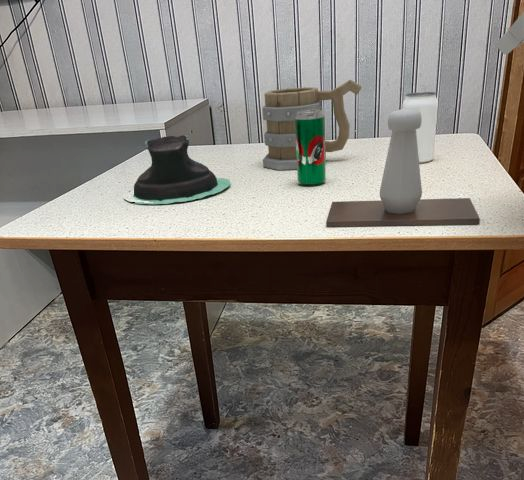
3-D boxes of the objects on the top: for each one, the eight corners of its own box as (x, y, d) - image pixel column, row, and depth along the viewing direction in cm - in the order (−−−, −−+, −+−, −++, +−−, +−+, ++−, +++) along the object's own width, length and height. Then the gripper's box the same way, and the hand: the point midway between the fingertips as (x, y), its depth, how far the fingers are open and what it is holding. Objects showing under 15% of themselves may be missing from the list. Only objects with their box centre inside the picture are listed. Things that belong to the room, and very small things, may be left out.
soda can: (329, 180, 98) (328, 108, 92) (320, 187, 94) (318, 112, 88) (303, 179, 100) (300, 109, 94) (293, 186, 96) (289, 113, 90)
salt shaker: (370, 211, 76) (372, 112, 70) (395, 201, 79) (400, 106, 73) (404, 218, 72) (409, 114, 66) (429, 208, 75) (437, 107, 69)
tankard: (260, 171, 109) (253, 89, 101) (270, 158, 120) (265, 84, 112) (359, 167, 105) (360, 81, 97) (361, 154, 116) (362, 76, 108)
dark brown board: (469, 203, 79) (469, 197, 78) (479, 224, 70) (480, 218, 70) (332, 206, 83) (332, 201, 82) (326, 227, 74) (326, 221, 74)
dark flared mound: (113, 183, 106) (209, 170, 112) (137, 250, 97) (240, 232, 103) (105, 113, 93) (214, 103, 100) (132, 183, 85) (249, 167, 91)
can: (404, 156, 110) (407, 92, 104) (436, 157, 107) (441, 91, 101) (396, 163, 105) (399, 96, 99) (430, 164, 102) (435, 95, 96)
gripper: (655, -57, 46) (514, 76, 55) (638, -43, 61) (530, 60, 70) (607, -113, 46) (473, 30, 55) (602, -85, 61) (498, 23, 70)
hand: (505, 47), depth 63 cm, fingers open, 8 cm apart
